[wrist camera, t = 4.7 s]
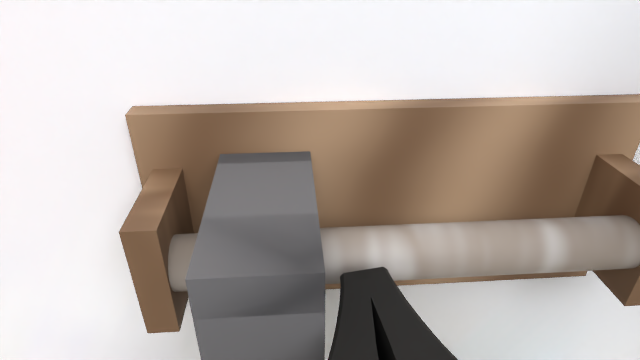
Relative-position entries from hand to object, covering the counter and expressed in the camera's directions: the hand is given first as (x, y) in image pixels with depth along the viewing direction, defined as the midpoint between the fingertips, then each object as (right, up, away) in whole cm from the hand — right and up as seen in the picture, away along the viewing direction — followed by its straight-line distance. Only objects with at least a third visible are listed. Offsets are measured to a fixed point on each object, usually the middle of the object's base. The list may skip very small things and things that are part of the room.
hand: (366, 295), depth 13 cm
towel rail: (+1, +3, +5) cm, 5 cm away
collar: (-3, +2, +3) cm, 5 cm away
